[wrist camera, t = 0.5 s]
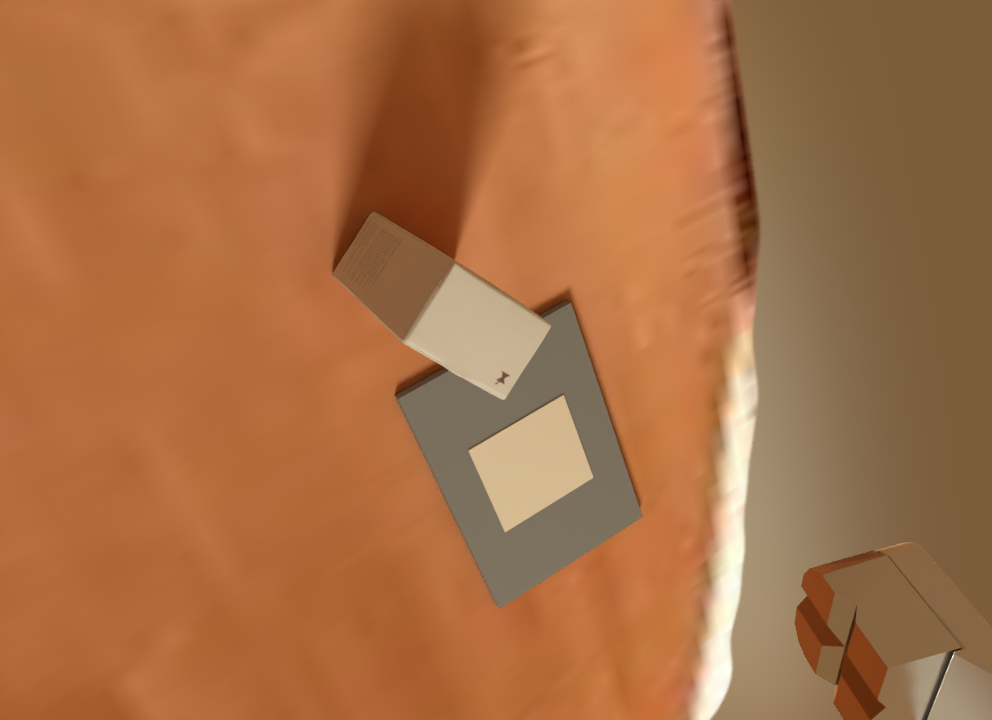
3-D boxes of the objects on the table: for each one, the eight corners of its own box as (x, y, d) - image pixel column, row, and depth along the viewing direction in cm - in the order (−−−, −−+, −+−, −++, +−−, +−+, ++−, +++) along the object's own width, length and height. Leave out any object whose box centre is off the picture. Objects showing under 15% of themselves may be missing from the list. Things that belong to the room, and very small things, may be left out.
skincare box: (456, 261, 48) (557, 326, 38) (415, 325, 49) (505, 406, 39) (369, 205, 45) (455, 259, 35) (327, 273, 45) (399, 346, 35)
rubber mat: (394, 395, 50) (398, 399, 49) (566, 299, 52) (571, 303, 52) (495, 603, 58) (499, 609, 58) (638, 512, 61) (643, 517, 61)
